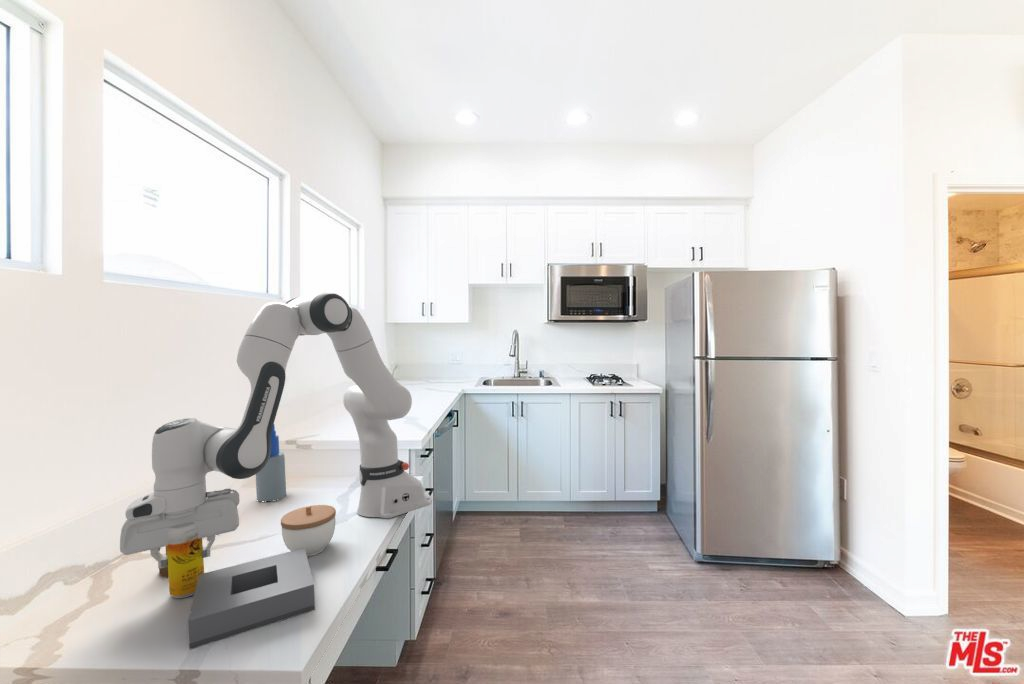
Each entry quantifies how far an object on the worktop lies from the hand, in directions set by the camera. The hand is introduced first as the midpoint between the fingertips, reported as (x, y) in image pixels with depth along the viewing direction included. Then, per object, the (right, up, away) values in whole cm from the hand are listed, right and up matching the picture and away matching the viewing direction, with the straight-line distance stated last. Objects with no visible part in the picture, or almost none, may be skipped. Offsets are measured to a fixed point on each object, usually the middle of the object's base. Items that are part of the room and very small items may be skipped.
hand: (185, 561), depth 94 cm
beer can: (0, -7, 0) cm, 7 cm away
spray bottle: (-13, -7, +57) cm, 59 cm away
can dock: (+18, -6, -5) cm, 19 cm away
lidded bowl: (+19, -6, +18) cm, 26 cm away
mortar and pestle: (-10, -7, +10) cm, 16 cm away
